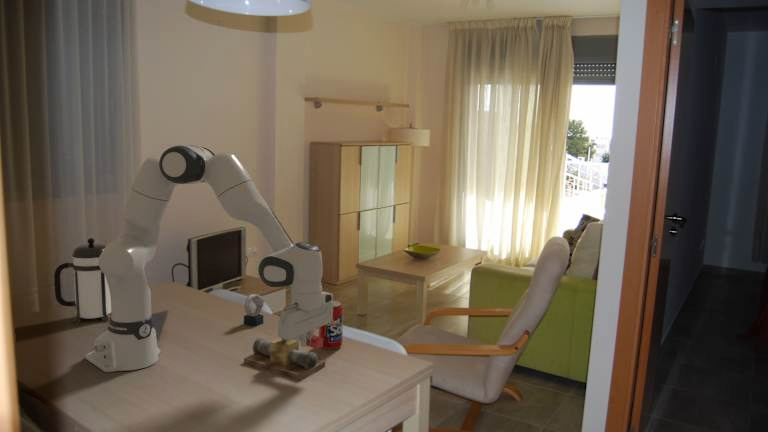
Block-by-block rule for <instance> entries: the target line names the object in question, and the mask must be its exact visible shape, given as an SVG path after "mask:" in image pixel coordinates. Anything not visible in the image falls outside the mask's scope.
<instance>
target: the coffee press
mask: <svg viewBox="0 0 768 432" xmlns="http://www.w3.org/2000/svg"><path fill="white" fill-rule="evenodd" d="M106 246H107V245H106V244H102V243H95V239H94V238H93V237H92V238H91V237H90V238H88V239H87V243H86V244H81V245H78V246H76V247H75V248H74V249H73V251H72V253H71V257H72V262H64V263H61V264H59V265H58V266H57V267H56V269H55V271H54V276H53V277H54V280H53V281H54V295H55V300H56V302H57V303H58V304H60V305H61V306H63V307H74V308H75V314H76V316H75V317H74V319H73V322H74V323H76V324H80V323H81V321H83V320H84V319H88V320H89V319H99V318H100V319H101V320H102V322H103V323H105V322H106V321H108V320H110V319H107V318H109V316H108V315H110V314H111V298H110V291H109V287H108V283H107V280H106V276H105V274H104V273H103V272H102V271H101V269H100V267H99V257H100V255H101V253H102V251H103V250H104V248H105V247H106ZM69 268H72V270H73V281H74V282H73V283H74V301H73V300H72V301H69V300H65V299H64V298H63V296H62V283H61V273H62V270H65V269H69ZM106 323H107V322H106Z"/></svg>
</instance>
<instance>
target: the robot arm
mask: <svg viewBox="0 0 768 432" xmlns="http://www.w3.org/2000/svg"><path fill="white" fill-rule="evenodd" d="M198 183H201V184H202V183H207V184H208V185H209V186H210V187H211V189H212V190H213V193H214V194H215V196H216V198H217V200H218V202H219V204H220V206H221V207H222V209H223V210H224V211H225V212H226V214H227V215H228V216H229V217H231V218H232V219H235V220H238V221H242V222H246V223H248V224H251V225H253V226H255V227H256V228H257V229H258V230H259V231H260V232H261V234H262V236H263V237H264V239H265V240H266V241H267V243H268V245H269V246H270V247H271V249H272V251H273V252H272V253H271V254H269V255H266V256H265V257H263V259H261V261H260V262H259V264H258V276H259V279H260V280H261V281H262V283H264V285H266V286H268V287H269V288H270V287H271V288H282V287H290V305H285V306H284V307H283V309H282V310H281V312H280V314H279V318H278V325H277V336H278V338H281V339H284V340H290V339H292V338H295V337H297V336H298V337H299V339H300V340H301V342H300V346H301V347H303V348H306V347H309V346H308V345H310V344H311V339H312V336H313V335H315V330H316V329H319V327H321V326H323V325H326V324H328V323H330V322H331V320H332V318H333V303H332V302H331V301H332V300H333V301H334V294H333V293H330V292H328V291H327V292H326V291H324V290H323V285H322V278H323V270H324V269H323V268H324V267H323V256H322V251H321V249H320V247H318V245H316V244H313V243H311V242H306V241H305V242H302V241H301V242H296V243H295V242H294V241H293V240H292V238H291V237H290V236H289V233H288V232H287V231H286V229H285V228H284V226H283V225H282V223H281V222H280V219H279V218H278V216H276V214H275V212H274V211H273V210H272V208H271V207H270V206H269V205H268V203H267V202H266V200H265V199H264V198H263V197H262V195H261V193H260V192H259V190H258V188H257V187H256V185H255V184H256V183H254V181H253V180H252V177H251V176H250V174H249V173H248V171H247V169H246V168H245V166H244V165H243V164H242V163H241V161H240V160H239V159H238V157H237V156H236V155H235V154H233V153H230V152H221V153H217V154H215V153H214V151H211V150H210V149H209V148H206V147H203V146H199V145H198V146H197V145H191V144H189V145H174V146H171V147H168V148H167V149H166V150H164V151H163V152H162V154H161V156H156V155H155V156H150V157H147V158H146V159H145V160H144V161H143V163H142V164H141V166H140V168H139V170H138V172H137V173H136V176H135V177H134V180H133V182H132V185H131V188H130V190H129V193H128V196H127V199H126V202H125V204H124V207H123V210H122V224H121V230H120V234H119V236H118V237H117V238H116V239H115V240H113V241H111V242H110V243H108V244H107V245H106V247H105V248H104V250H103V251H102V253H101V255H100V257H99V267H100V269H101V271H102V272H103V273H104V274H105V276H106V280H107V283H108V287H109V291H110V298H111V313H110V314H111V315H110V317H108V318H107V319H109V320H108V321H106V323H108V326H107V329H106V330H105V331H103V333H101V334H100V335H98V336H97V337H96V338H95V340H94V344H93V350H92V351H90V352H88V353H87V354H86V355H85V360H87V361H88V362H90V363H92V365H94V366H95V367H96V368H99V369H100V370H101V371H102V372H104V373H113V372H117V371H118V372H120V371H121V372H122V371H126V372H127V371H135V370H136V371H137V370H141V369H144V368H148V367H150V366H152V365H154V364H156V363H157V362H158V361H159V359H160V357H159V355H160V354H161V348H159V346H158V341H157V332H156V329H155V328H154V321H155V320H154V314H153V313H152V293H151V292H152V291H151V288H150V287H149V285H148V281H147V277H146V273H145V266H147V265H148V264H149V263H150V262H151V261H152V260H153V258H154V256H155V254H156V251H157V245H158V242H159V238H160V233H161V227H162V224H163V220H164V218H165V214H166V212H167V210H168V206H169V203H170V201H171V198H172V195H173V192H174V190H175V188H176V186H177V185H178V184H179V185H196V184H198Z"/></svg>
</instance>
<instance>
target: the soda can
mask: <svg viewBox="0 0 768 432" xmlns="http://www.w3.org/2000/svg"><path fill="white" fill-rule="evenodd" d="M331 302H332V303H333V318H332V320H331V322H330V323H328V324H326V325H323V326H321V327H319V328H318V337H322V338H323V346H322V347H321V348H322V349H324V350H336V349H338V348H340V347H341V346H342V345H343V330H344V328H343V327H344V326H343V323H344V322H343V321H344V317H343V316H344V307H343V306H342V302H340V301H339V300H334V299H333V300H332V301H331Z"/></svg>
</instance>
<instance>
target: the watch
mask: <svg viewBox="0 0 768 432" xmlns="http://www.w3.org/2000/svg"><path fill="white" fill-rule="evenodd" d="M251 301H252V303H253V304H254V305H255V307H256V308H255V310H254V311H252V308H251V306H250V305H251ZM264 303H265V299H264V298H263V297H262V296H261V295H259V294H257V293H251V294H249V295H248V296H247V297H246V298H245V301H244V307H243V308H244V311H245V313H246V314H245V315H243V325H246V324H247V326H250V325H251V327H255V326H257V327H258V325H259V326H261V325H263V324H264V315H263V314H260V313H261V311H262V309H263V308H264ZM260 324H261V325H260Z"/></svg>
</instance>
